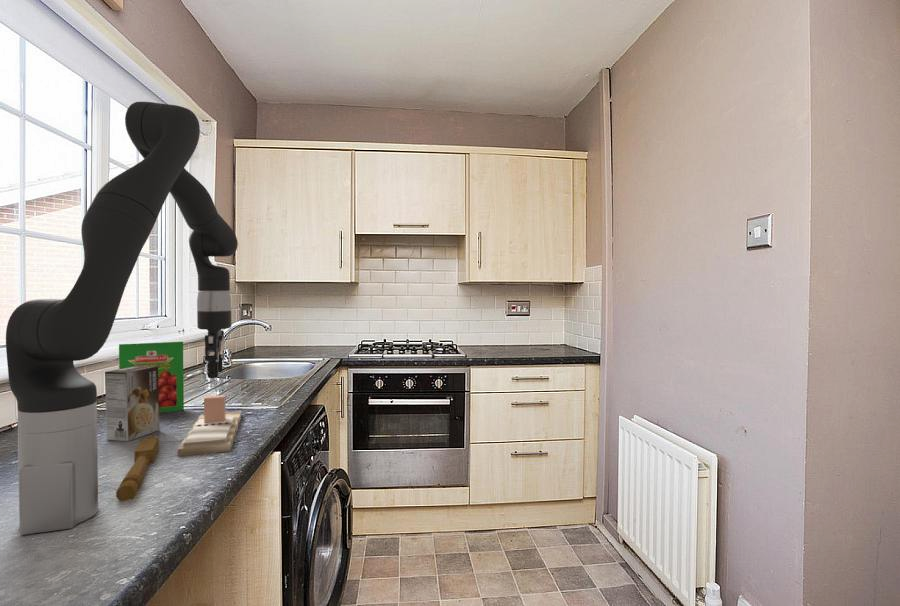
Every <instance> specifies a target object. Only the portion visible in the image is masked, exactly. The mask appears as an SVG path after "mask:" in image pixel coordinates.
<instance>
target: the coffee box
mask: <svg viewBox="0 0 900 606" xmlns="http://www.w3.org/2000/svg"><path fill="white" fill-rule="evenodd" d="M104 379H105V381H104V384H105V388H104V389H105V419H106V420H105V423H106V424H105V426H106V429H105V430H106V440H109V441H121V442H130V441H133V440H136V439H138V438H141V437H143V436H147V435H150V434H151V433H152V434H153V433H155V432H158V431H160V428H161V427H160V413H159V384H158V366H134V367H128V368H123V369H119V368H117V369H113V370H107V371H104Z"/></svg>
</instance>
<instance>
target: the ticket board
mask: <svg viewBox="0 0 900 606" xmlns="http://www.w3.org/2000/svg"><path fill="white" fill-rule="evenodd" d="M232 416H234V422H233V424H232V423H229V422H226V423H225V424H222V423H218V424H215V423H214V424H211V425H208V424H205V425H197V426H195V424H196V423H197V421H198V420H199V419H204V413H201V414H200V415H199V416H198V418H197V419H196V421H195V423H193V425H192V426H191V428H190V430H189V431H188V433H187V434H186V436H185V437H184V439H183V440H182V442H181V443H180V445H178V448H177V457H181V456H183V457H184V456H193V455H203V454H212V453H221V452H230V451H231V448H232V446H233V443H234V440H235V437H236V434H237V431H238V428H239V424H240V422H241V420H242V416H243V415H242V410H239V411H226V417H232Z"/></svg>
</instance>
